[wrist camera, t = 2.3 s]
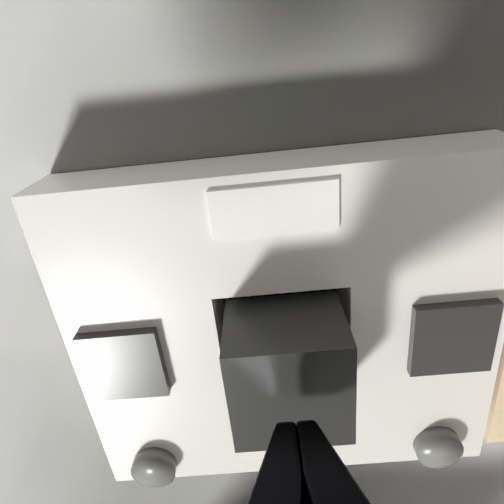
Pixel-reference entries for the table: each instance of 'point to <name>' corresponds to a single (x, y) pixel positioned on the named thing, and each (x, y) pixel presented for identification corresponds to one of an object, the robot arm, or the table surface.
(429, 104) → the table surface
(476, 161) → the panel
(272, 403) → the dark grey block
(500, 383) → the pad
